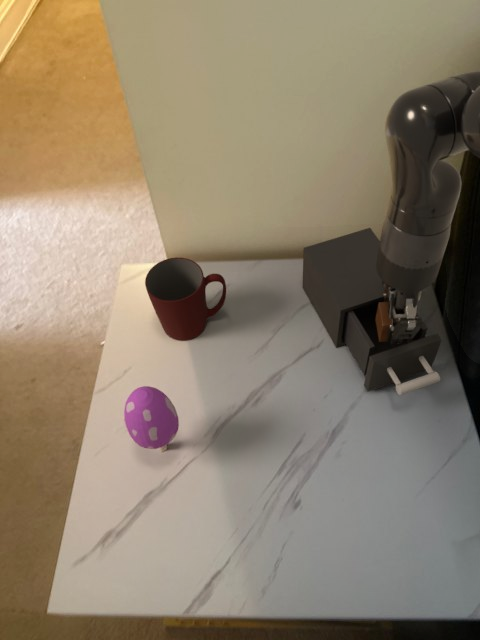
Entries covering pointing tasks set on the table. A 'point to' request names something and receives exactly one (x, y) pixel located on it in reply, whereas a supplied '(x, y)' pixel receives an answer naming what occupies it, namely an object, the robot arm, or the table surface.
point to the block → (383, 321)
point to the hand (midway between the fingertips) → (391, 328)
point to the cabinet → (342, 278)
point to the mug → (181, 297)
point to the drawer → (389, 352)
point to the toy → (150, 418)
